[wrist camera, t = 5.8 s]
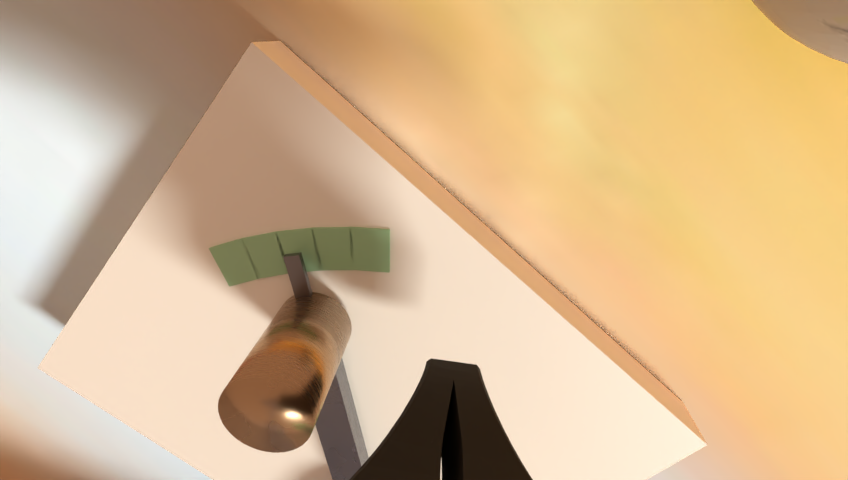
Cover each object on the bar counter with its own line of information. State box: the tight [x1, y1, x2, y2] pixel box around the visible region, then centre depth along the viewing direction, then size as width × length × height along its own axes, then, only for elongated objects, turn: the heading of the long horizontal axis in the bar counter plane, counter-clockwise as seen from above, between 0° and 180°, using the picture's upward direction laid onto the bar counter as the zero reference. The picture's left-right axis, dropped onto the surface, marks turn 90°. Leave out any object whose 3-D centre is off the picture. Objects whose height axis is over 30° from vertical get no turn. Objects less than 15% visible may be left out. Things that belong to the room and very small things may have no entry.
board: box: [38, 41, 707, 480], centre depth 18 cm, size 15×19×2 cm
